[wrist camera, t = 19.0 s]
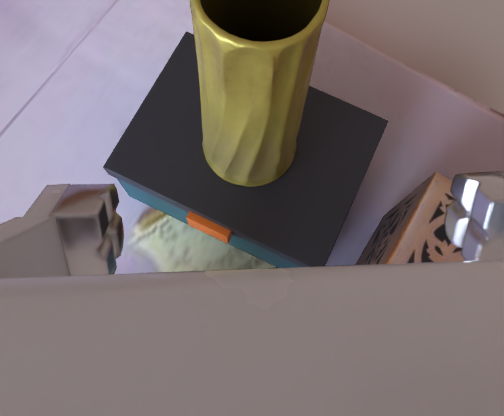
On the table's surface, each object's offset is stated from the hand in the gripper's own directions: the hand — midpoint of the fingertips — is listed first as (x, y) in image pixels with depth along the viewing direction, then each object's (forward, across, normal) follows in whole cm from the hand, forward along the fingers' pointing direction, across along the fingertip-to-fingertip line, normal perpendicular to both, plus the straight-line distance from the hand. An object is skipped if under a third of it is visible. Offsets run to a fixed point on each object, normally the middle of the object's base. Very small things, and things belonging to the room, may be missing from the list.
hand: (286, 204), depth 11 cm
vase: (+19, 0, +6) cm, 20 cm away
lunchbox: (+24, 0, +10) cm, 26 cm away
